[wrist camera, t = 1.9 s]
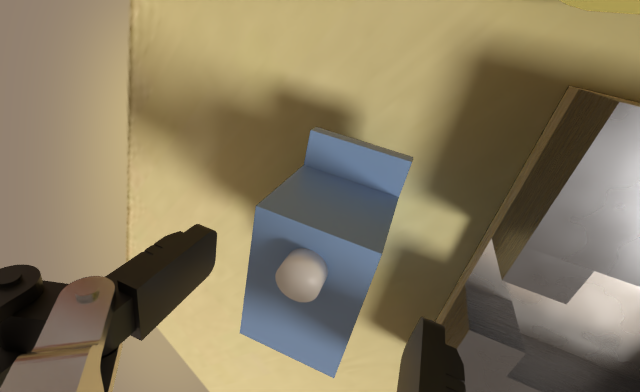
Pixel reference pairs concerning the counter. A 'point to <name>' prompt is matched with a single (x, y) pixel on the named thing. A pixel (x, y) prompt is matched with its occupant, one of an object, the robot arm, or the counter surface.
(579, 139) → the grey hollow block
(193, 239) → the robot arm
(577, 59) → the counter surface
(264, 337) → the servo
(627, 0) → the plastic component
